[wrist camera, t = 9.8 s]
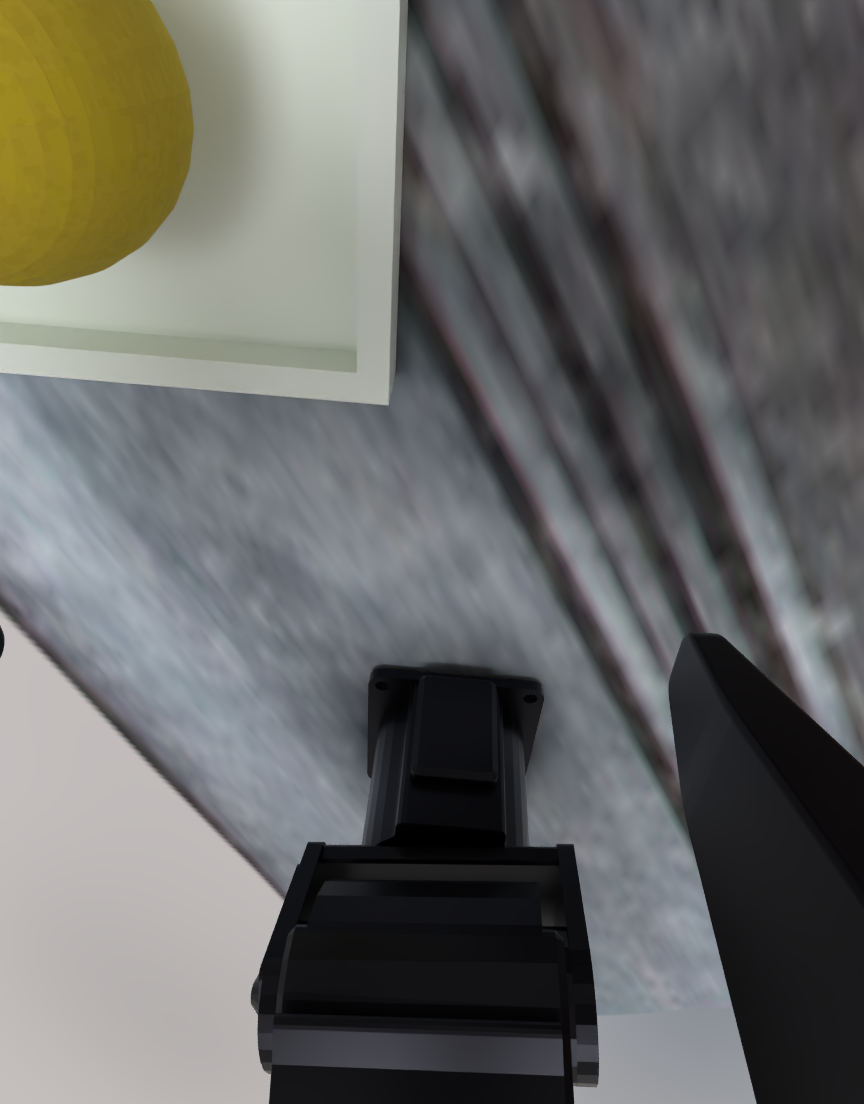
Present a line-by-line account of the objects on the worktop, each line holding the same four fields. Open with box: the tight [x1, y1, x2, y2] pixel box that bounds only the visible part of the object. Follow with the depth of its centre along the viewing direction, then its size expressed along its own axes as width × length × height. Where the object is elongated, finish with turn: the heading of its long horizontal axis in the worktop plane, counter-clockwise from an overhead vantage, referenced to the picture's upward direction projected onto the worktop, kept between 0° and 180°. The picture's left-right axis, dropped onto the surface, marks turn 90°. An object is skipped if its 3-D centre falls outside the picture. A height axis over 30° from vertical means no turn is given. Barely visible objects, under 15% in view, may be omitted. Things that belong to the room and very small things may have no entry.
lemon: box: [0, 0, 194, 286], centre depth 12 cm, size 6×6×8 cm
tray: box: [0, 0, 408, 405], centre depth 15 cm, size 13×13×2 cm
